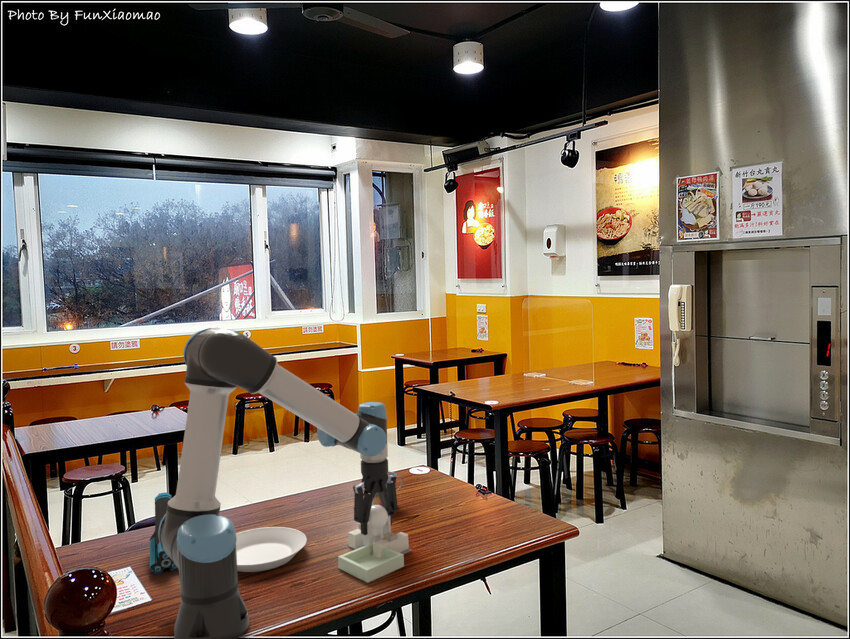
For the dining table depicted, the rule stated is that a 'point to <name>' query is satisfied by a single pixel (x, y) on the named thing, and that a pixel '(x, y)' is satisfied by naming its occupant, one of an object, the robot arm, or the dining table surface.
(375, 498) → the mug
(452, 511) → the dining table surface
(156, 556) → the gun
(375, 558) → the tray
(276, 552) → the bowl
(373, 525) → the lightbulb
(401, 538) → the holder
